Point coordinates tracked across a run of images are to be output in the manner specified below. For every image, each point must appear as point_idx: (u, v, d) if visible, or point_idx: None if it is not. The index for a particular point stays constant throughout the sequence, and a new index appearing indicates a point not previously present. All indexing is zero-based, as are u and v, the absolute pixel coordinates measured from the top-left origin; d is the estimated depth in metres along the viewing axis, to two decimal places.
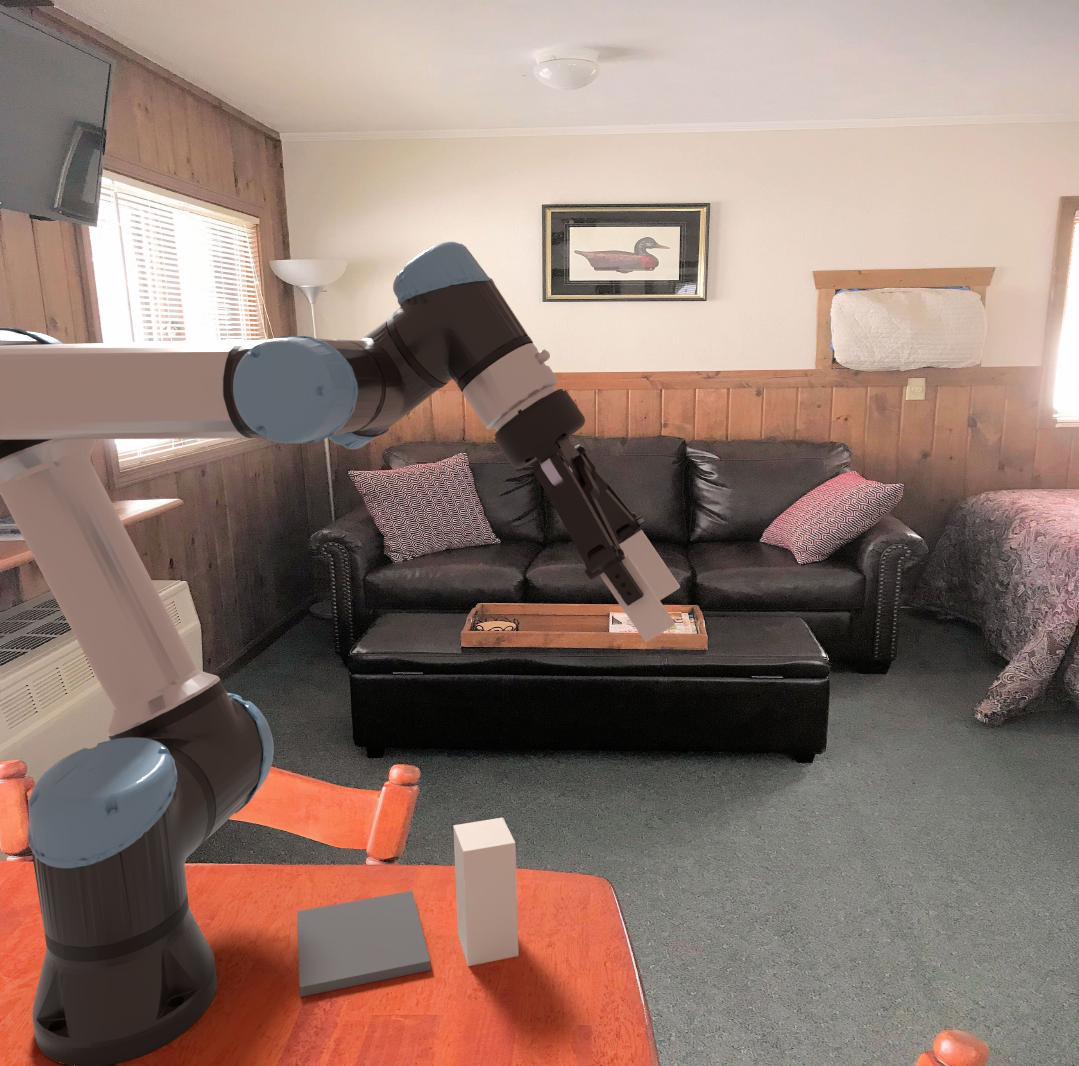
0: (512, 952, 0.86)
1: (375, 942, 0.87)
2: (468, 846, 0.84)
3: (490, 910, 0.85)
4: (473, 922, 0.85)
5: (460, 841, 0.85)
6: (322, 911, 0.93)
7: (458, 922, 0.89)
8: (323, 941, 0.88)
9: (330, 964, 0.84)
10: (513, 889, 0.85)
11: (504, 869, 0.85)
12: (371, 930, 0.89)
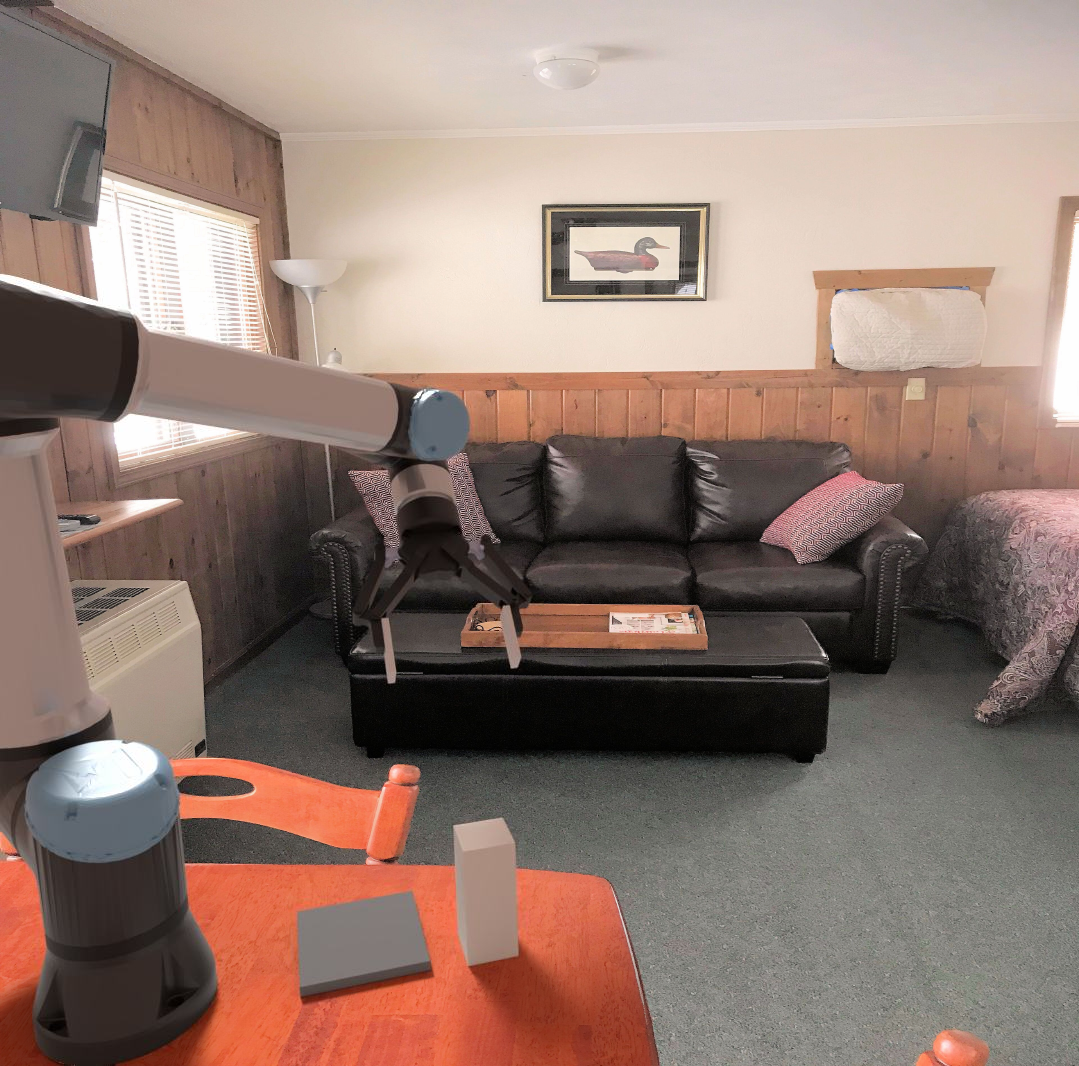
0: (512, 952, 0.86)
1: (375, 942, 0.87)
2: (468, 846, 0.84)
3: (490, 910, 0.85)
4: (473, 922, 0.85)
5: (460, 841, 0.85)
6: (322, 911, 0.93)
7: (458, 922, 0.89)
8: (323, 941, 0.88)
9: (330, 964, 0.84)
10: (513, 889, 0.85)
11: (504, 869, 0.85)
12: (371, 930, 0.89)
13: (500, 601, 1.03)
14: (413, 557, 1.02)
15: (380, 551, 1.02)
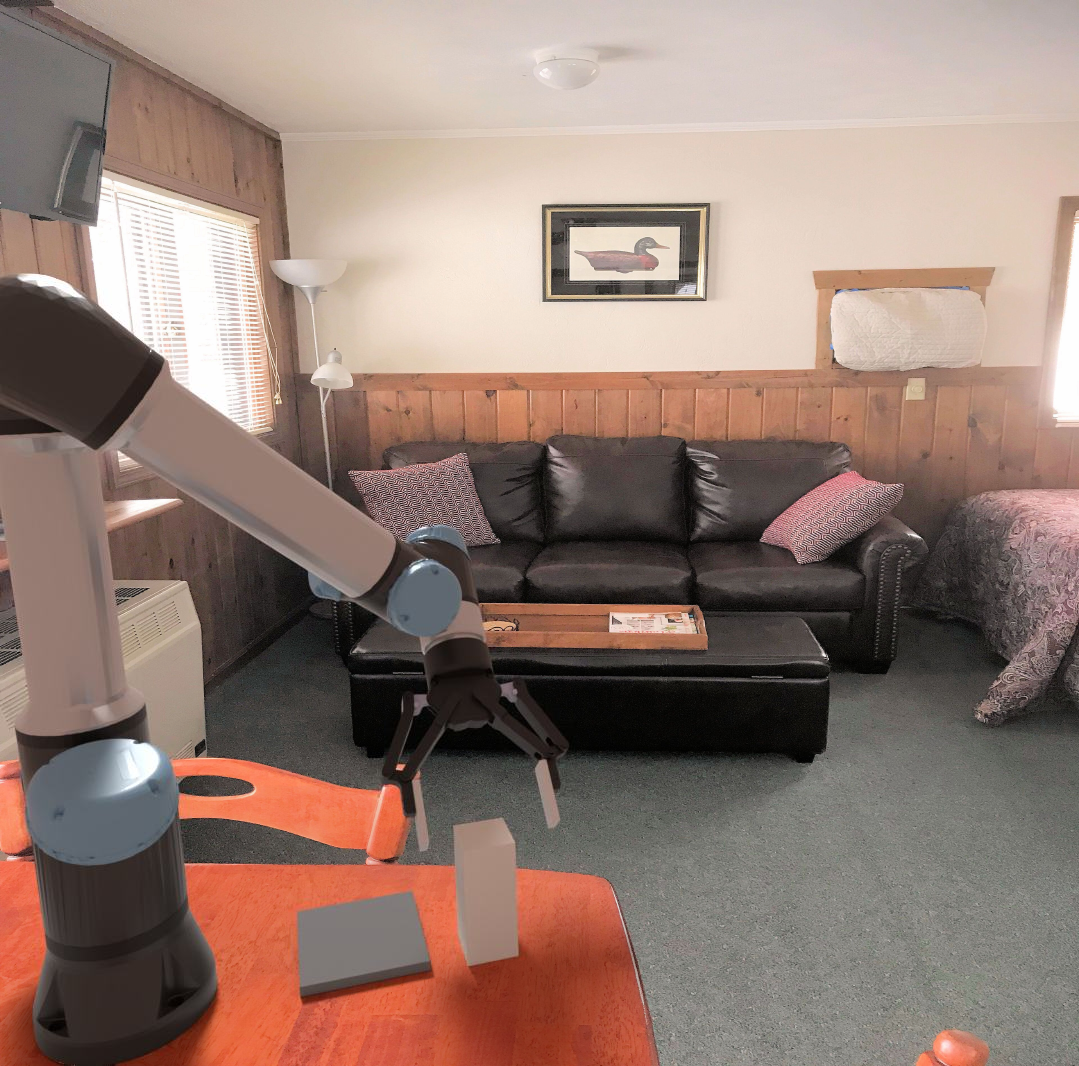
0: (512, 952, 0.86)
1: (375, 942, 0.87)
2: (468, 846, 0.84)
3: (490, 910, 0.85)
4: (473, 922, 0.85)
5: (460, 841, 0.85)
6: (322, 911, 0.93)
7: (458, 922, 0.89)
8: (323, 941, 0.88)
9: (330, 964, 0.84)
10: (513, 889, 0.85)
11: (504, 869, 0.85)
12: (371, 930, 0.89)
13: (535, 752, 0.97)
14: (443, 707, 0.96)
15: (408, 700, 0.96)
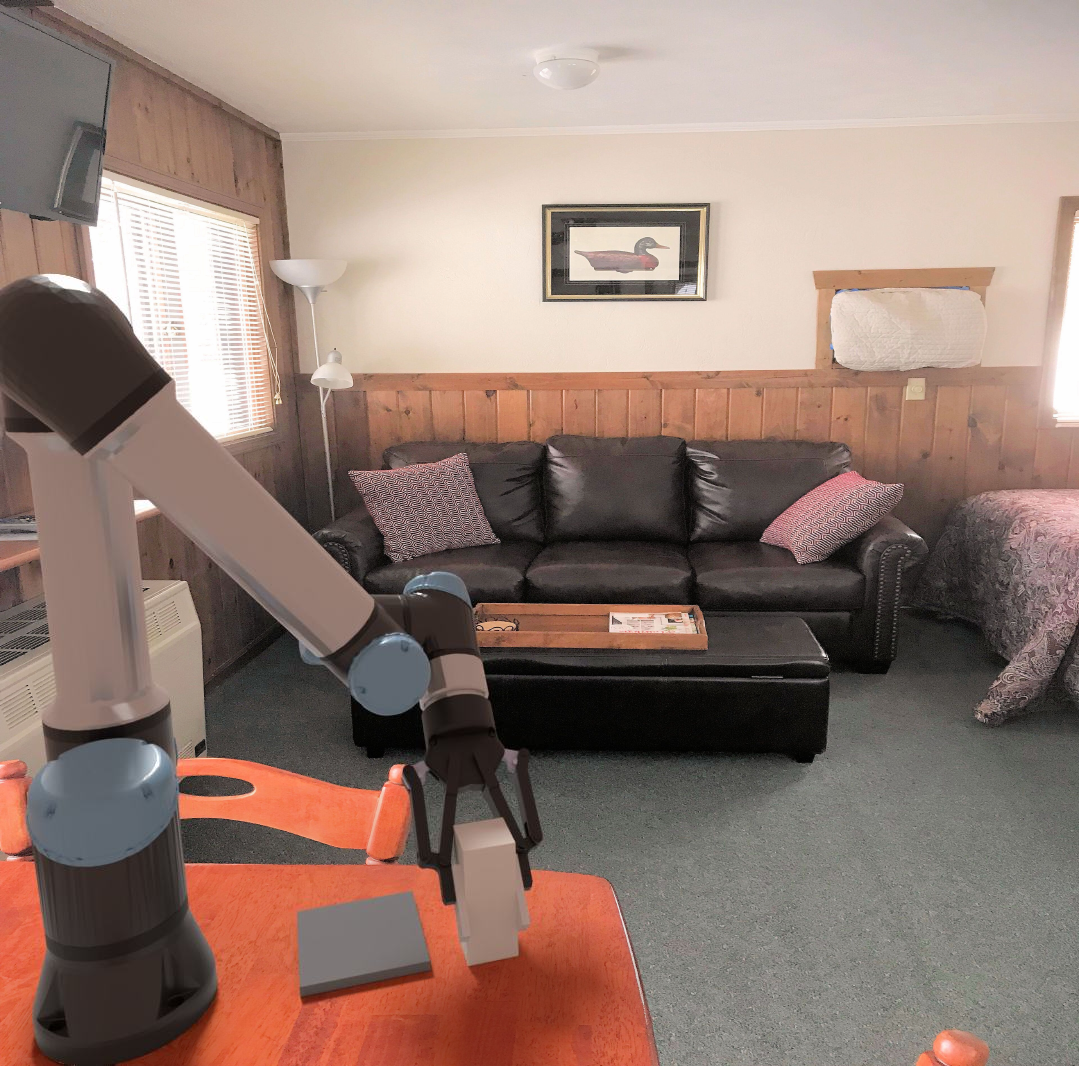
0: (512, 952, 0.86)
1: (375, 942, 0.87)
2: (468, 845, 0.84)
3: (490, 910, 0.85)
4: (473, 922, 0.85)
5: (460, 841, 0.85)
6: (322, 911, 0.93)
7: None
8: (323, 941, 0.88)
9: (330, 964, 0.84)
10: (513, 889, 0.85)
11: (504, 869, 0.85)
12: (371, 930, 0.89)
13: None
14: (449, 774, 0.90)
15: (411, 775, 0.90)
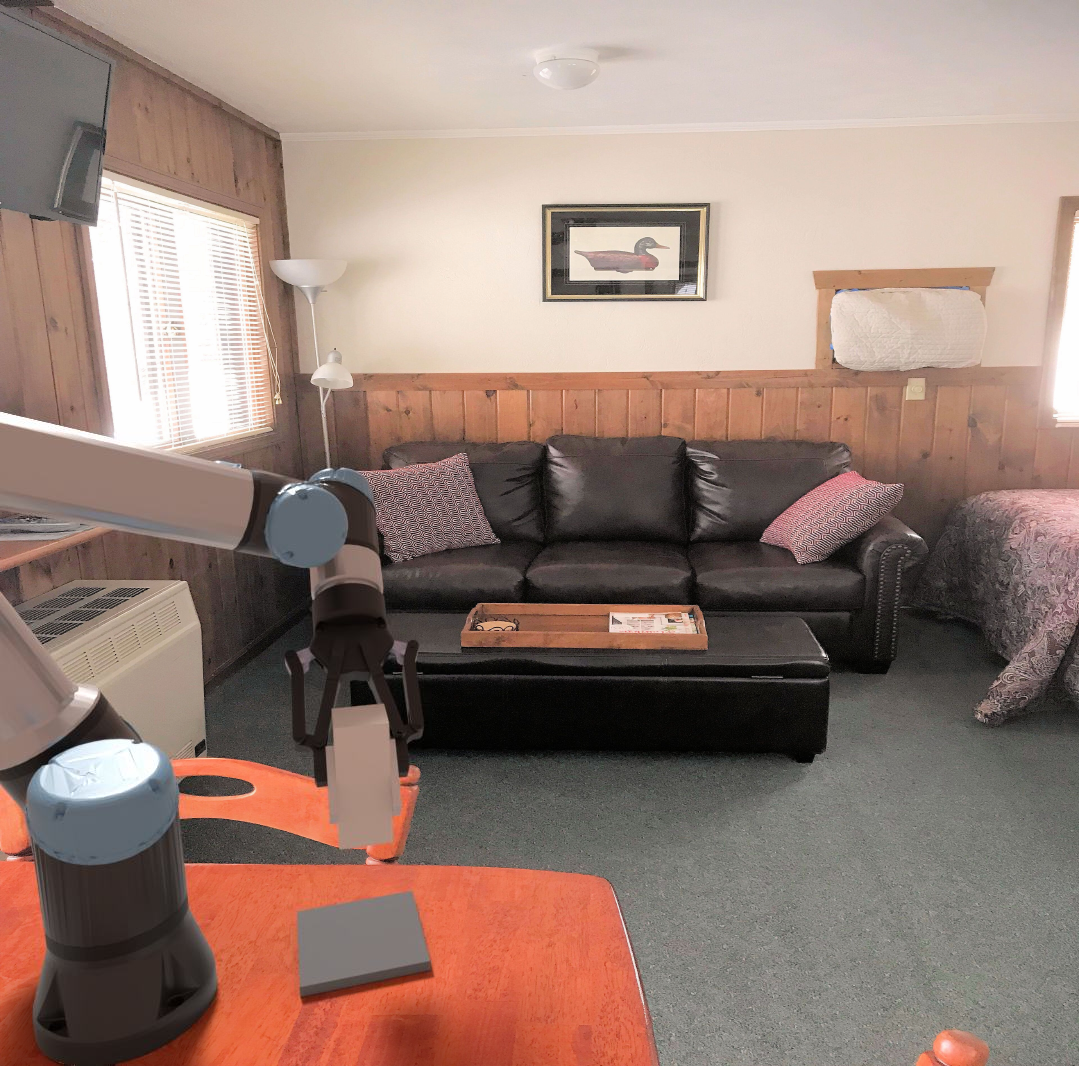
0: (386, 837, 0.84)
1: (375, 942, 0.87)
2: (340, 724, 0.82)
3: (363, 792, 0.83)
4: (345, 804, 0.83)
5: (333, 720, 0.83)
6: (322, 911, 0.93)
7: None
8: (323, 941, 0.88)
9: (330, 964, 0.84)
10: (387, 771, 0.83)
11: (377, 750, 0.83)
12: (371, 930, 0.89)
13: (391, 727, 0.88)
14: (332, 660, 0.89)
15: (293, 659, 0.88)
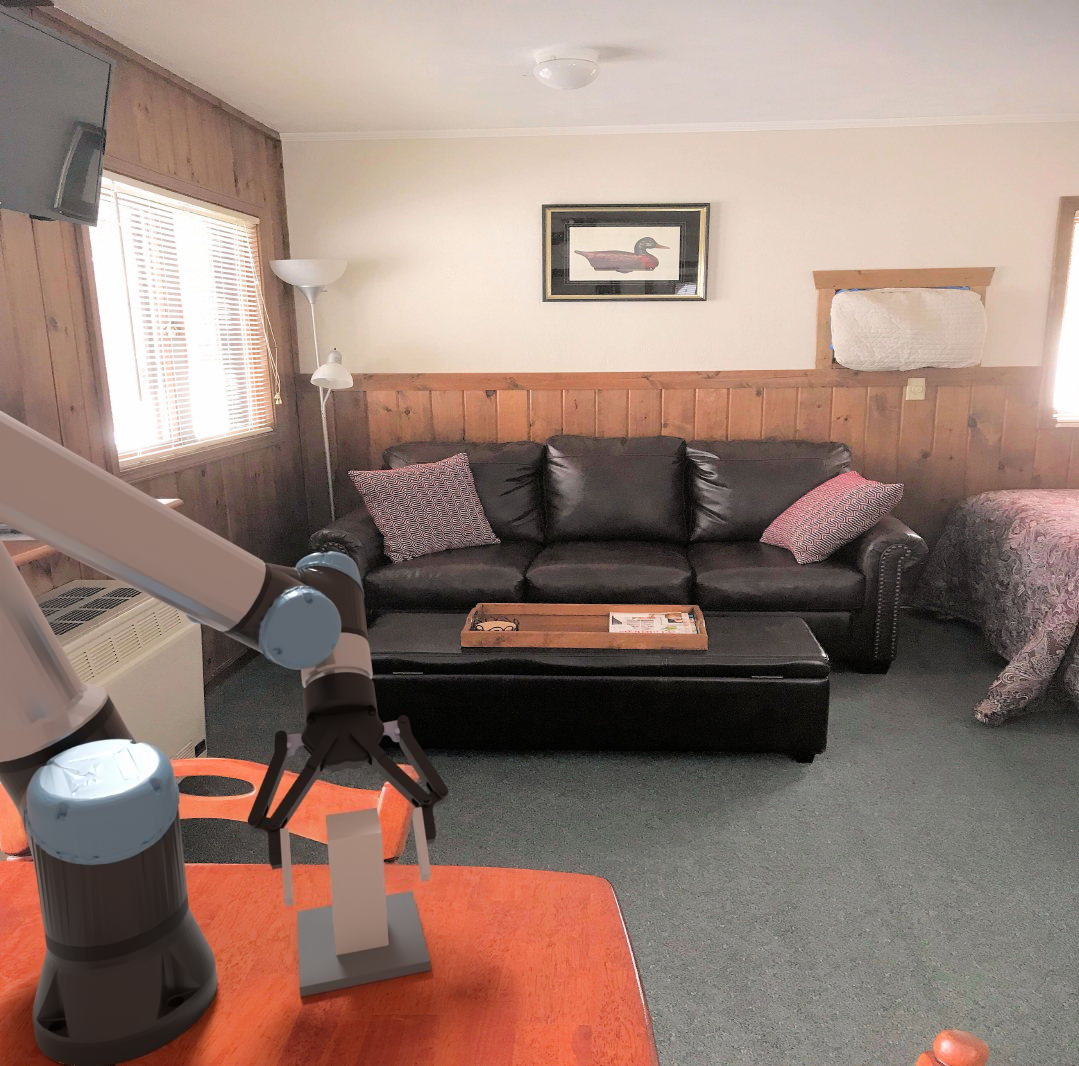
0: (381, 941, 0.87)
1: None
2: (334, 835, 0.84)
3: (358, 899, 0.85)
4: (341, 911, 0.85)
5: (328, 831, 0.85)
6: (322, 911, 0.93)
7: None
8: (323, 941, 0.88)
9: (330, 964, 0.84)
10: (381, 878, 0.86)
11: (371, 859, 0.85)
12: None
13: (413, 798, 0.91)
14: (318, 748, 0.90)
15: (281, 741, 0.91)
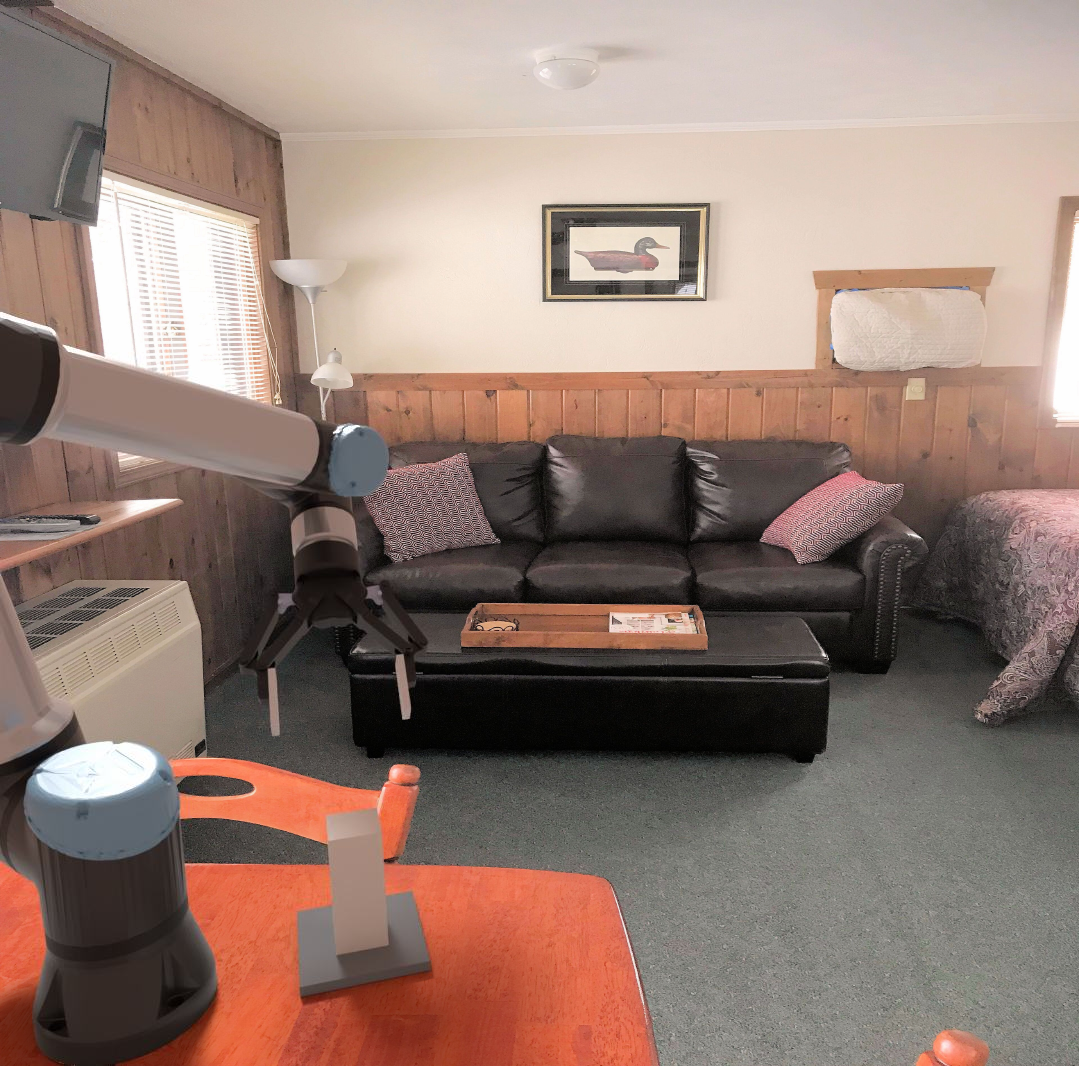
0: (381, 941, 0.87)
1: None
2: (334, 835, 0.84)
3: (358, 899, 0.85)
4: (341, 911, 0.85)
5: (328, 831, 0.85)
6: (322, 911, 0.93)
7: None
8: (323, 941, 0.88)
9: (330, 964, 0.84)
10: (381, 878, 0.86)
11: (371, 859, 0.85)
12: None
13: (396, 649, 1.00)
14: (306, 604, 0.99)
15: (272, 597, 1.00)
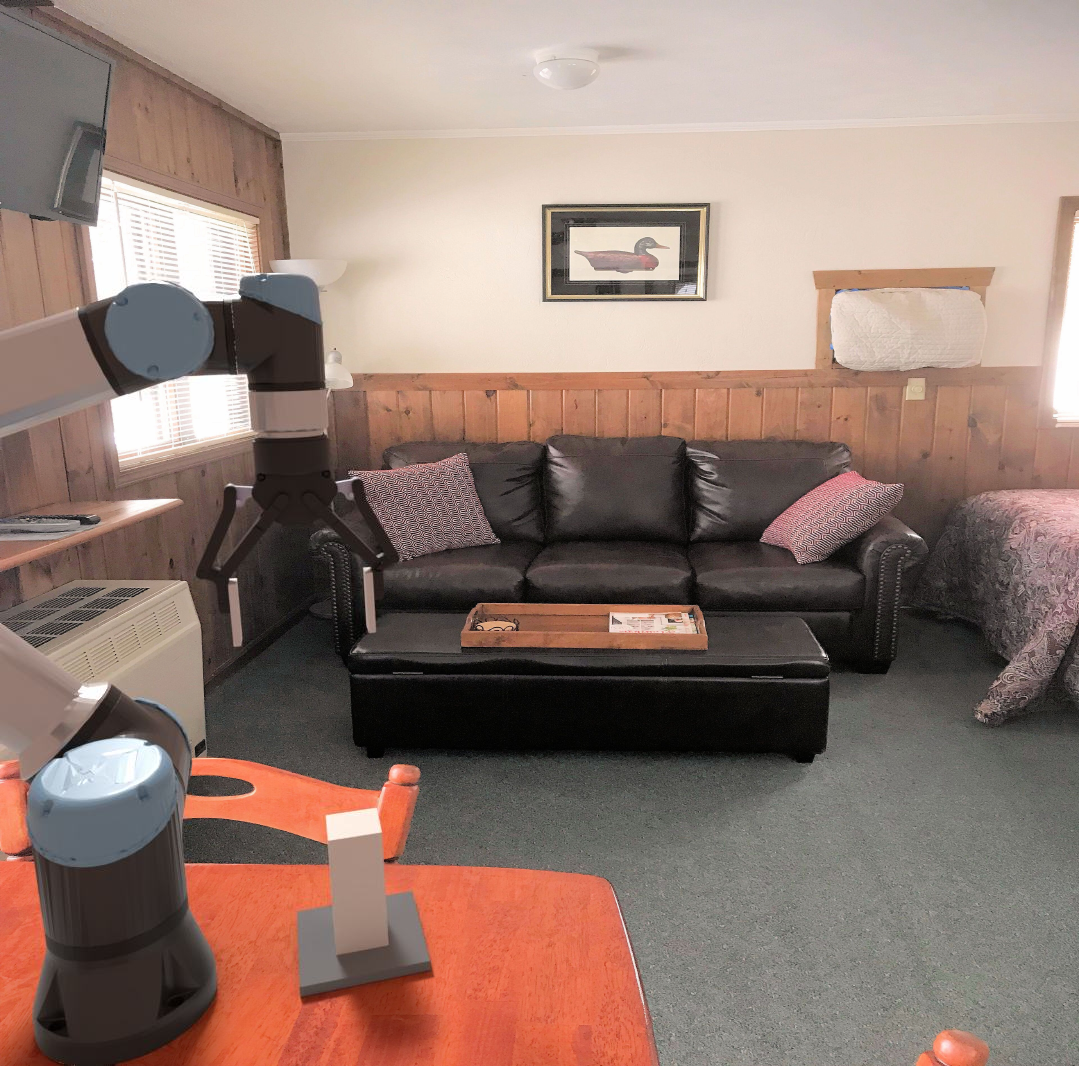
0: (381, 941, 0.87)
1: None
2: (334, 835, 0.84)
3: (358, 899, 0.85)
4: (341, 911, 0.85)
5: (328, 831, 0.85)
6: (322, 911, 0.93)
7: None
8: (323, 941, 0.88)
9: (330, 964, 0.84)
10: (381, 878, 0.86)
11: (371, 859, 0.85)
12: None
13: None
14: (268, 511, 0.89)
15: (230, 497, 0.88)
